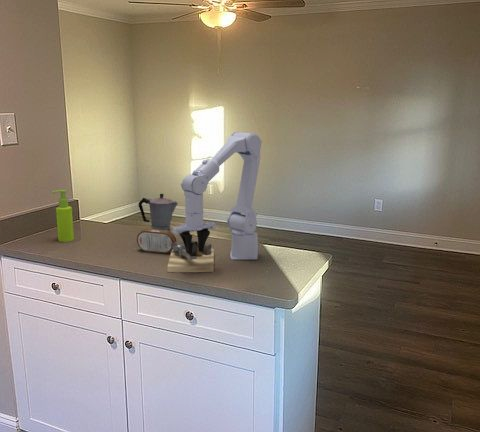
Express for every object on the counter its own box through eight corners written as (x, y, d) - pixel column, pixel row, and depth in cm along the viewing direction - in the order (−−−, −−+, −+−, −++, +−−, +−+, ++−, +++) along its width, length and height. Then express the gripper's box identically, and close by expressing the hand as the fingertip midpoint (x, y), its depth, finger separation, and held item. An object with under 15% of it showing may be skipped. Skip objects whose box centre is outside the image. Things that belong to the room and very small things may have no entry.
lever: (168, 250, 176) (168, 231, 174) (180, 249, 178) (179, 229, 176) (188, 265, 161) (188, 244, 159) (201, 263, 163) (201, 242, 161)
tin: (177, 252, 181) (176, 230, 179) (173, 255, 178) (173, 232, 176) (140, 249, 185) (139, 227, 183) (136, 251, 182) (135, 229, 180)
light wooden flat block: (172, 254, 179) (171, 239, 178) (213, 254, 180) (213, 239, 179) (167, 272, 161) (167, 256, 159) (213, 271, 162) (213, 255, 160)
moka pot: (177, 248, 187) (176, 196, 182) (136, 247, 187) (134, 195, 182) (180, 241, 196) (179, 191, 191) (142, 240, 196) (140, 191, 192)
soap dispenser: (54, 239, 197) (51, 189, 193) (73, 237, 200) (69, 188, 196) (56, 242, 192) (52, 192, 188) (74, 240, 195) (71, 191, 190)
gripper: (179, 217, 152) (180, 259, 155) (220, 211, 160) (219, 252, 163) (169, 212, 158) (170, 253, 161) (209, 207, 166) (209, 246, 169)
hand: (194, 252), depth 162 cm, fingers open, 4 cm apart
